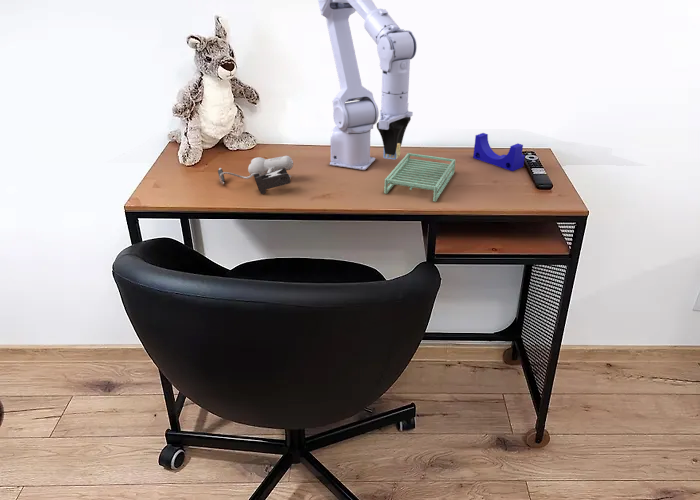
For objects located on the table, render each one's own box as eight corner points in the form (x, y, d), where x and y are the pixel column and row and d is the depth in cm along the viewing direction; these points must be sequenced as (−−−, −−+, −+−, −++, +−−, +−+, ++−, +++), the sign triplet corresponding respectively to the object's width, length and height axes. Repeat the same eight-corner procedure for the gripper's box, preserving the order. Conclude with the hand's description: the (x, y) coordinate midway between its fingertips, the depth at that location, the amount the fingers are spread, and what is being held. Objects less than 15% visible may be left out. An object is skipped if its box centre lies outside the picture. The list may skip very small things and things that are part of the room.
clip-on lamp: (216, 204, 143) (292, 190, 141) (206, 180, 140) (284, 165, 137) (226, 180, 153) (297, 166, 150) (217, 156, 149) (290, 142, 147)
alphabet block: (382, 158, 142) (383, 145, 140) (387, 154, 144) (388, 141, 143) (395, 160, 141) (396, 147, 139) (400, 155, 143) (400, 143, 142)
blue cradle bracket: (523, 166, 157) (526, 143, 154) (512, 171, 154) (515, 147, 151) (484, 153, 164) (486, 131, 161) (473, 157, 162) (475, 135, 159)
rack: (435, 202, 138) (437, 187, 136) (383, 193, 142) (384, 179, 140) (454, 172, 153) (455, 159, 151) (406, 166, 157) (407, 152, 155)
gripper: (402, 101, 128) (399, 164, 135) (422, 84, 140) (419, 143, 146) (369, 98, 130) (368, 160, 137) (392, 81, 142) (390, 139, 149)
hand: (392, 151), depth 142 cm, fingers closed on alphabet block, 3 cm apart
